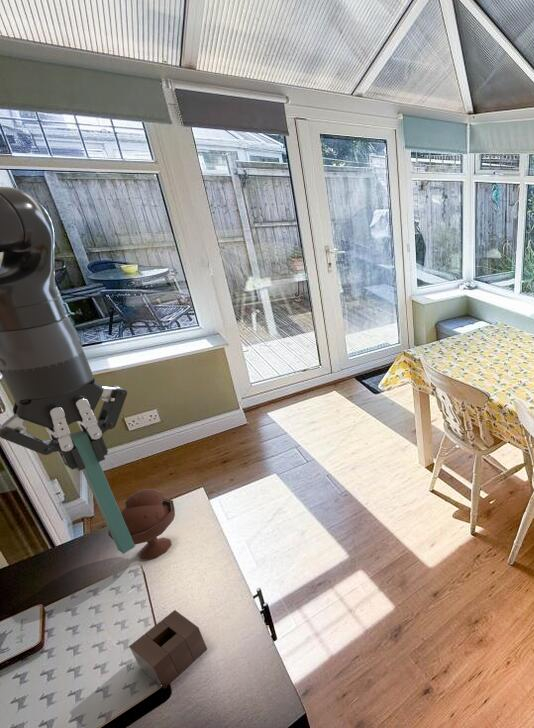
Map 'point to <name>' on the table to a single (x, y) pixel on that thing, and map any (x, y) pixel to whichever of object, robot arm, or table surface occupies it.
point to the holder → (168, 648)
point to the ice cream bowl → (148, 521)
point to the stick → (102, 492)
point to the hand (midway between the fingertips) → (88, 463)
